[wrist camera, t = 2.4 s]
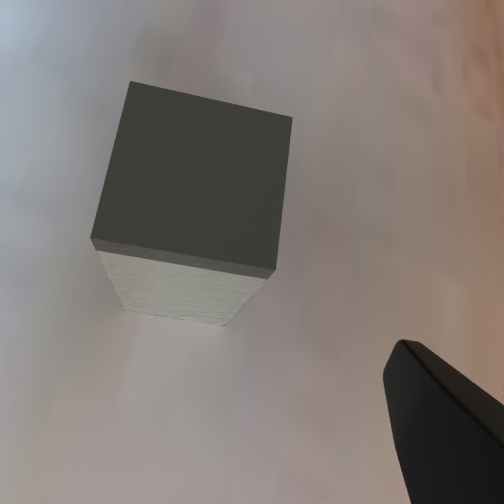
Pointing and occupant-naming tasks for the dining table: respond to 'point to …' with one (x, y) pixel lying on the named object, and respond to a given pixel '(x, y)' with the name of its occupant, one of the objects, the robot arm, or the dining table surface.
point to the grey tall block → (191, 204)
